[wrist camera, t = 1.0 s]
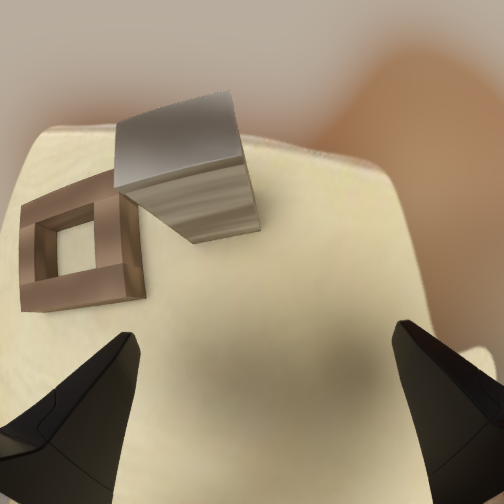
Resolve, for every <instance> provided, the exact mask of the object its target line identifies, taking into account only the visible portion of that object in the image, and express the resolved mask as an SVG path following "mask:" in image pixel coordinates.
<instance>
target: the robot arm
mask: <svg viewBox="0 0 504 504" xmlns="http://www.w3.org/2000/svg"><path fill="white" fill-rule="evenodd" d="M392 346H393V351H394V355H395V359H396V363H397V368H398V372H399V377H400V381H401V384H402V387H403V390H404V393H405V396H406V399H407V402H408V406H409V409H410V412H411V415H412V419H413V422H414V426H415V429H416V433H417V436H418V440H419V443H420V447H421V451H422V455H423V459H424V463H425V467H426V471H427V476H428V481H429V485H430V490H431V495H432V500H433V504H504V386H503V385H501V384H500V383H498V382H497V381H495V380H494V379H493V378H491V377H490V376H488V375H487V374H485V373H484V372H483V371H481V370H479V369H478V368H477V367H476V366H474V365H473V364H472V363H470V362H469V361H467V360H466V359H465V358H463V357H462V356H461V355H459V354H458V353H456V352H455V351H453V350H452V349H451V348H449V347H448V346H446V345H445V344H443V343H442V342H441V341H439V340H438V339H436V338H435V337H434V336H432V335H431V334H429V333H428V332H426V331H425V330H424V329H422V328H421V327H419V326H418V325H416V324H415V323H413V322H412V321H410V320H400V321H398V322H397V324H396V327H395V330H394V333H393V336H392ZM140 355H141V352H140V348H139V345H138V343H137V340H136V338H135V335H134V334H133V333H132V332H121V333H120V334H119V335H117V336H116V337H115V338H114V339H113V340H111V341H110V342H109V343H108V344H107V345H105V346H104V347H103V348H102V349H101V350H99V351H98V352H97V353H96V354H95V355H93V356H92V357H91V358H90V359H89V360H87V361H86V362H85V363H84V364H83V365H81V366H80V367H79V368H78V369H77V370H76V371H74V372H73V373H72V374H71V375H70V376H68V377H67V378H66V379H65V380H64V381H63V382H61V383H60V384H59V385H58V386H57V387H56V388H55V389H53V390H52V391H51V392H50V393H48V394H47V395H46V396H45V397H44V398H42V399H41V400H40V401H39V402H37V403H36V404H35V405H33V406H32V407H31V408H29V409H28V410H27V411H25V412H24V413H22V414H21V415H20V416H18V417H17V418H15V419H14V420H13V421H11V422H10V423H8V424H7V425H5V426H3V427H1V428H0V504H112V499H113V492H114V486H115V480H116V475H117V470H118V465H119V460H120V455H121V450H122V445H123V441H124V436H125V432H126V427H127V423H128V419H129V415H130V410H131V406H132V402H133V398H134V394H135V389H136V382H137V375H138V368H139V362H140Z"/></svg>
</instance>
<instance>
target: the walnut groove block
mask: <svg viewBox="0 0 504 504" xmlns="http://www.w3.org/2000/svg"><path fill="white" fill-rule="evenodd" d="M92 220H94V238H95V259H96V269H92V270H87V271H82V272H78V273H73V274H68V275H64V276H59V277H58V273H57V231H60V230H63V229H66V228H70V227H73V226H76V225H79V224H82V223H86V222H89V221H92ZM19 287H20V302H21V312H42V313H45V312H53V311H61V310H68V309H76V308H83V307H91V306H98V305H105V304H112V303H118V302H125V301H132V300H139V299H145V298H146V293H145V285H144V276H143V267H142V258H141V247H140V234H139V220H138V204H137V203H136V202H135V201H133V200H132V199H131V198H129V197H128V196H127V195H125V194H121V193H120V192H119V191H117V190H116V189H115V188H114V169H112V170H109V171H106V172H103V173H100V174H97V175H94V176H92V177H89V178H86V179H84V180H81V181H78V182H76V183H73V184H71V185H68V186H66V187H63V188H61V189H58V190H56V191H53V192H51V193H49V194H46V195H44V196H42V197H39V198H37V199H35V200H33V201H30V202H28V203H26V204H24V205H22V206H21V215H20V230H19Z"/></svg>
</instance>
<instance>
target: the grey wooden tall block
mask: <svg viewBox="0 0 504 504" xmlns="http://www.w3.org/2000/svg"><path fill="white" fill-rule="evenodd" d="M114 188H115V189H116V190H117V191H119V192H120V193H121V194H125V195H127V196H128V197H129V198H131V199H132V200H133V201H135V202H136V203H137V204H139V205H140V206H142V207H143V208H144V209H146V210H147V211H148V212H150V213H151V214H152V215H154V216H155V217H157V218H158V219H159V220H161V221H162V222H163V223H165V224H166V225H168V226H169V227H170V228H172V229H173V230H174V231H176V232H177V233H179V234H180V235H181V236H183V237H184V238H186V239H187V240H188V241H190V242H191V243H193V244H196V243H201V242H206V241H211V240H216V239H221V238H226V237H232V236H237V235H242V234H247V233H252V232H258V231H261V230H260V225H259V220H258V215H257V209H256V204H255V199H254V193H253V189H252V184H251V180H250V176H249V172H248V168H247V163H246V159H245V155H244V151H243V147H242V143H241V138H240V134H239V130H238V126H237V122H236V117H235V112H234V107H233V101H232V97H231V93H230V90H227V91H222V92H217V93H213V94H209V95H205V96H201V97H196V98H193V99H189V100H185V101H181V102H177V103H174V104H171V105H167V106H164V107H160V108H157V109H154V110H151V111H148V112H145V113H142V114H139V115H136V116H133V117H130V118H128V119H124V120H122V121H119V122H116V136H115V157H114Z"/></svg>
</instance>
